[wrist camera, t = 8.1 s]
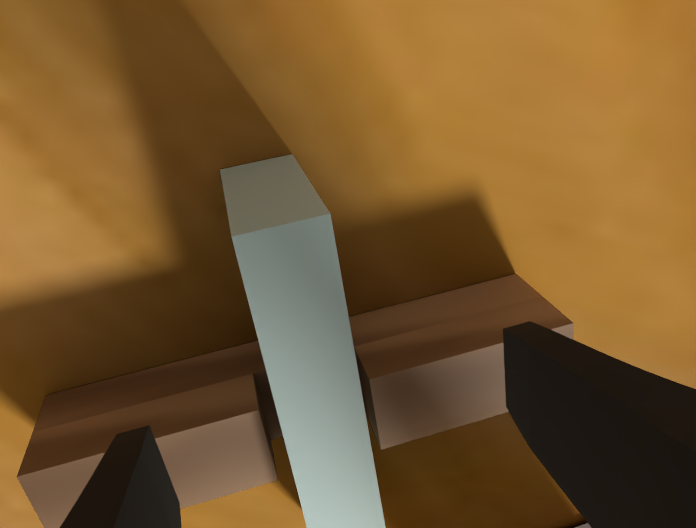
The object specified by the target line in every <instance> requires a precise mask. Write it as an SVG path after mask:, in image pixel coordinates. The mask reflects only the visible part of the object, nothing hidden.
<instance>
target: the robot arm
mask: <svg viewBox="0 0 696 528" xmlns="http://www.w3.org/2000/svg"><path fill="white" fill-rule="evenodd" d="M503 346H504V369H505V393H506V407H507V409H508V411H509V413H510V414H511V416H512V418H513V420H514V422H515V423H516V425H517V427H518V429H519V430H520V432H521V434H522V435H523V437H524V439H525V440H526V442H527V444H528V445H529V447H530V448H531V450H532V451H533V452H534V454H535V455H536V456H537V458H538V459H539V460H540V462H541V463H542V464H543V466H544V467H545V468H546V470H547V471H548V472H549V474H550V475H551V476H552V477H553V479H554V480H555V481H556V483H557V484H558V485H559V486H560V488H561V489H562V490H563V492H564V493H565V494H566V496H567V497H568V498H569V499H570V501H571V502H572V503H573V505H574V506H575V507H576V508H577V510H578V511H579V512H580V514H581V515H582V516H583V517H584V519H585V520H586V521H587V523H586V524H583V525H580V526H577V527H574V528H696V389H694V388H691V387H688V386H685V385H682V384H679V383H676V382H674V381H671V380H668V379H666V378H663V377H660V376H658V375H655V374H652V373H650V372H647V371H645V370H642V369H640V368H637V367H635V366H632V365H630V364H627V363H625V362H623V361H620V360H618V359H616V358H613V357H611V356H609V355H606V354H604V353H602V352H599V351H597V350H595V349H593V348H590V347H588V346H586V345H584V344H582V343H579V342H577V341H575V340H573V339H570V338H568V337H566V336H564V335H562V334H559V333H557V332H555V331H553V330H550V329H548V328H546V327H543V326H541V325H539V324H536V323H533V322H531V321H529V322H525V323H521V324H518V325H514V326H511V327H507V328H503ZM60 528H181V515H180V502H179V500H178V497H177V495H176V492H175V489H174V487H173V484H172V482H171V479H170V476H169V474H168V471H167V469H166V466H165V464H164V461H163V458H162V456H161V453H160V451H159V448H158V445H157V443H156V440H155V438H154V435H153V433H152V430H151V427H150V425H148V426H144V427H140V428H137V429H133V430H129V431H126V432H122V433H118V434H116V436H115V437H114V439H113V440H112V442H111V444H110V445H109V447H108V449H107V450H106V452H105V454H104V455H103V457H102V459H101V461H100V462H99V464H98V466H97V467H96V469H95V471H94V472H93V474H92V476H91V478H90V479H89V481H88V483H87V484H86V486H85V488H84V489H83V491H82V493H81V494H80V496H79V497H78V499H77V501H76V502H75V504H74V505H73V507H72V509H71V510H70V512H69V513H68V515H67V517H66V518H65V520H64V521H63V523H62V525H61V526H60Z"/></svg>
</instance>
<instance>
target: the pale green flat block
mask: <svg viewBox="0 0 696 528" xmlns="http://www.w3.org/2000/svg"><path fill="white" fill-rule="evenodd" d="M220 173H221V179H222V185H223V191H224V196H225V202H226V208H227V214H228V220H229V226H230V232H231V237H232V241H233V245H234V249H235V253H236V256H237V260H238V264H239V268H240V272H241V276H242V280H243V283H244V287H245V291H246V295H247V299H248V303H249V306H250V310H251V314H252V318H253V322H254V326H255V330H256V333H257V337H258V341H259V345H260V349H261V353H262V357H263V360H264V364H265V368H266V372H267V376H268V380H269V383H270V387H271V391H272V395H273V399H274V403H275V407H276V410H277V414H278V418H279V422H280V426H281V430H282V434H283V437H284V441H285V445H286V449H287V453H288V457H289V461H290V464H291V468H292V472H293V476H294V480H295V484H296V487H297V491H298V495H299V499H300V503H301V507H302V511H303V514H304V518H305V522H306V526H307V528H386V527H385V522H384V516H383V510H382V505H381V499H380V493H379V488H378V482H377V476H376V470H375V465H374V459H373V453H372V448H371V442H370V436H369V430H368V425H367V419H366V413H365V408H364V402H363V396H362V391H361V385H360V379H359V373H358V368H357V362H356V356H355V351H354V345H353V339H352V334H351V328H350V322H349V316H348V311H347V305H346V299H345V294H344V288H343V282H342V277H341V271H340V265H339V259H338V254H337V248H336V242H335V237H334V231H333V225H332V220H331V214H330V212H329V211H328V209H327V207H326V206H325V204H324V203H323V201H322V200H321V198H320V197H319V195H318V193H317V192H316V190H315V189H314V187H313V186H312V184H311V182H310V181H309V179H308V178H307V176H306V175H305V173H304V171H303V170H302V168H301V167H300V165H299V164H298V162H297V160H296V159H295V157H294V156H293V154H290V155H285V156H281V157H276V158H271V159H267V160H262V161H257V162H253V163H248V164H243V165H239V166H234V167H229V168H225V169H220Z"/></svg>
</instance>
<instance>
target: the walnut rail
mask: <svg viewBox="0 0 696 528" xmlns="http://www.w3.org/2000/svg"><path fill="white" fill-rule="evenodd" d="M529 321H531V322H533V323H536V324H539V325H541V326H543V327H546V328H548V329H550V330H553V331H555V332H557V333H559V334H562V335H564V336H566V337H568V338H570V339H573V322H572V321H570V320H569V319H568V318H567V317H566V316H565V315H563V314H562V313H561V312H560V311H559V310H558V309H556V308H555V307H554V306H553V305H552V304H551V303H549V302H548V301H547V300H546V299H545V298H544V297H542V296H541V295H540V294H539V293H538V292H537V291H535V290H534V289H533V288H532V287H531V286H530V285H529V284H527V283H526V282H525V281H524V280H523V279H522V278H520V277H519V276H518V275H517V274H513V275H509V276H506V277H502V278H498V279H494V280H490V281H486V282H482V283H478V284H475V285H471V286H467V287H463V288H459V289H455V290H451V291H447V292H444V293H440V294H436V295H432V296H428V297H424V298H420V299H417V300H413V301H409V302H405V303H401V304H397V305H393V306H389V307H386V308H382V309H378V310H374V311H370V312H366V313H362V314H359V315H355V316H351V317H349V322H350V328H351V334H352V339H353V345H354V351H355V356H356V362H357V368H358V373H359V379H360V385H361V391H362V396H363V402H364V408H365V413H366V415H367V417H368V420H369V422H370V424H371V427H372V429H373V432H374V434H375V436H376V439H377V441H378V443H379V446H380V448H381V450H382V449H385V448H389V447H392V446H395V445H399V444H402V443H406V442H409V441H412V440H416V439H419V438H423V437H426V436H429V435H433V434H436V433H439V432H443V431H446V430H450V429H453V428H456V427H460V426H463V425H467V424H470V423H473V422H477V421H480V420H484V419H487V418H490V417H494V416H497V415H500V414H504V413H507V412H509V411H508V409H507V407H506V393H505V369H504V346H503V328H507V327H511V326H514V325H518V324H521V323H525V322H529ZM148 425H150V427H151V430H152V433H153V435H154V438H155V440H156V443H157V445H158V448H159V451H160V453H161V456H162V458H163V461H164V464H165V466H166V469H167V471H168V474H169V476H170V479H171V482H172V484H173V487H174V489H175V492H176V495H177V497H178V500H179V502H180V509H182V508H185V507H189V506H192V505H196V504H199V503H202V502H206V501H209V500H213V499H216V498H219V497H223V496H226V495H229V494H233V493H236V492H240V491H243V490H246V489H250V488H253V487H257V486H260V485H263V484H267V483H270V482H273V481H277V480H278V477H277V472H276V466H275V461H274V455H273V450H272V444H271V440H274V439H277V438H281V437H283V434H282V430H281V426H280V422H279V418H278V414H277V410H276V407H275V403H274V399H273V395H272V391H271V387H270V383H269V380H268V376H267V372H266V368H265V364H264V360H263V357H262V353H261V349H260V345H259V341H254V342H250V343H246V344H242V345H239V346H235V347H231V348H227V349H223V350H219V351H215V352H212V353H208V354H204V355H200V356H196V357H192V358H188V359H184V360H181V361H177V362H173V363H169V364H165V365H161V366H157V367H153V368H150V369H146V370H142V371H138V372H134V373H130V374H126V375H123V376H119V377H115V378H111V379H107V380H103V381H99V382H95V383H92V384H88V385H84V386H80V387H76V388H72V389H68V390H65V391H61V392H57V393H53V394H49V395H46V397H45V400H44V402H43V405H42V408H41V411H40V414H39V416H38V419H37V422H36V425H35V427H34V430H33V433H32V436H31V439H30V441H29V444H28V447H27V450H26V453H25V455H24V458H23V461H22V464H21V466H20V469H19V472H18V475H17V478H18V480H19V482H20V484H21V486H22V487H23V489H24V491H25V493H26V495H27V497H28V499H29V500H30V502H31V504H32V506H33V508H34V510H35V511H36V513H37V515H38V517H39V519H40V521H41V523H42V524H43V526H44V528H60V526H61V525H62V523H63V521H64V520H65V518H66V517H67V515H68V513H69V512H70V510H71V509H72V507H73V505H74V504H75V502H76V501H77V499H78V497H79V496H80V494H81V493H82V491H83V489H84V488H85V486H86V484H87V483H88V481H89V479H90V478H91V476H92V474H93V472H94V471H95V469H96V467H97V466H98V464H99V462H100V461H101V459H102V457H103V455H104V454H105V452H106V450H107V449H108V447H109V445H110V444H111V442H112V440H113V439H114V437H115V436H116V434H118V433H122V432H126V431H129V430H133V429H137V428H140V427H144V426H148Z"/></svg>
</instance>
